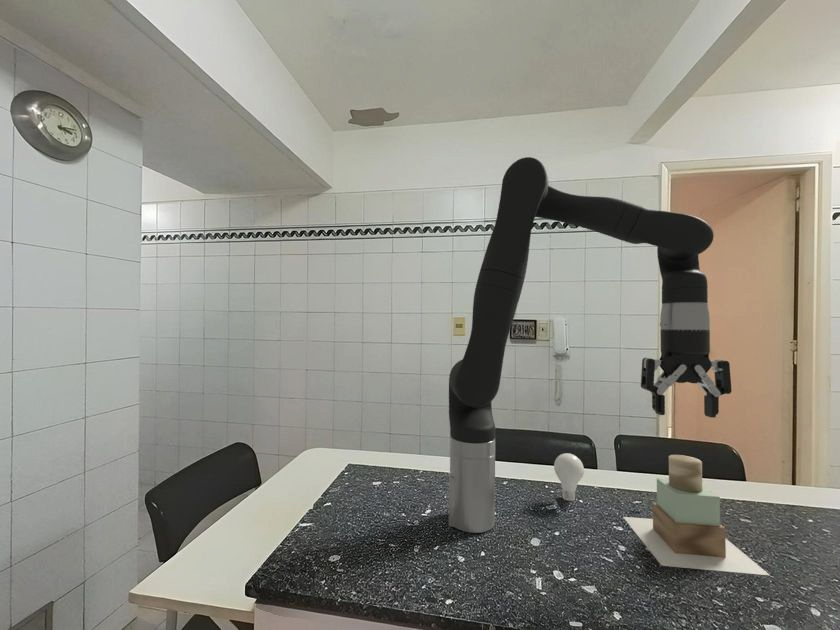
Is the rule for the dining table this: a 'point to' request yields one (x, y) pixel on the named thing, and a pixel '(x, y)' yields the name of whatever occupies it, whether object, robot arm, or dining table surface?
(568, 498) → the lightbulb
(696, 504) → the sage block
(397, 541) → the dining table surface
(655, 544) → the base board
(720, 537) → the walnut block
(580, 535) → the dining table surface
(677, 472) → the birch cylinder
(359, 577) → the dining table surface
